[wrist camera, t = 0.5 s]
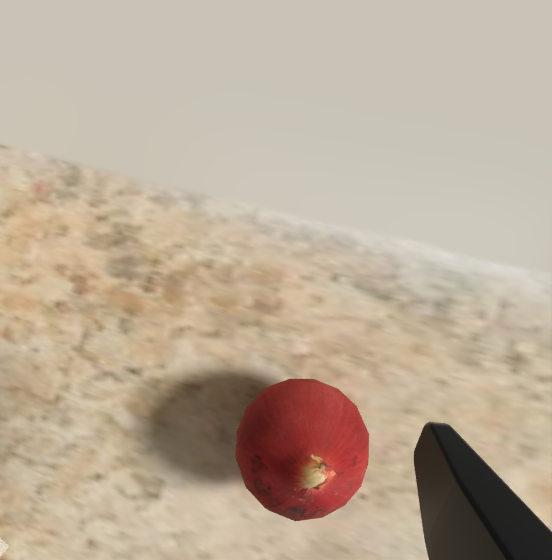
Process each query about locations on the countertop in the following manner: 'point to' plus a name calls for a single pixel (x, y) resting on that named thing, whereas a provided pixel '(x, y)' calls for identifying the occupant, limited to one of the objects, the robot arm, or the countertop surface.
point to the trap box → (3, 547)
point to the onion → (302, 449)
